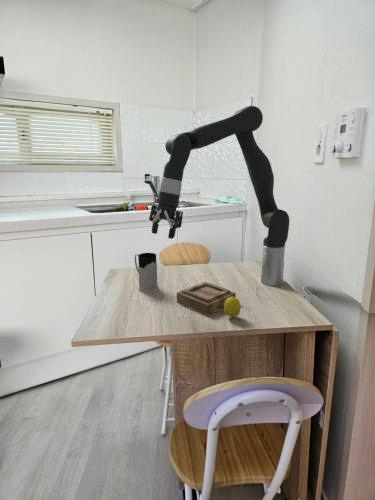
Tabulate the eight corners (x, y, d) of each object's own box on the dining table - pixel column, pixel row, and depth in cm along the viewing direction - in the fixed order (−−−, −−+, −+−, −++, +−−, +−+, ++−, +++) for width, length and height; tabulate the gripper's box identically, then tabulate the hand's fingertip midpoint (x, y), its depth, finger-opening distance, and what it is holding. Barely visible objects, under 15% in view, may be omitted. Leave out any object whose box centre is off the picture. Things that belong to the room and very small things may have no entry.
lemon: (222, 314, 109) (223, 293, 107) (237, 313, 110) (238, 292, 108) (225, 321, 104) (226, 299, 102) (241, 321, 105) (242, 299, 103)
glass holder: (145, 294, 128) (144, 259, 124) (127, 284, 138) (126, 252, 134) (162, 288, 133) (161, 255, 130) (144, 280, 144) (143, 249, 140)
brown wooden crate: (205, 291, 130) (205, 280, 129) (235, 302, 119) (235, 290, 118) (176, 302, 120) (176, 290, 119) (207, 315, 109) (207, 302, 107)
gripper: (191, 196, 111) (183, 240, 113) (163, 191, 119) (156, 232, 122) (177, 193, 105) (169, 240, 108) (149, 188, 114) (141, 231, 116)
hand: (162, 235), depth 115 cm, fingers open, 8 cm apart
